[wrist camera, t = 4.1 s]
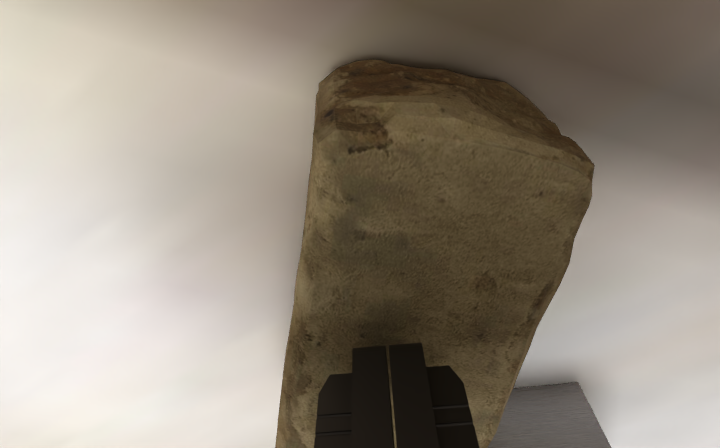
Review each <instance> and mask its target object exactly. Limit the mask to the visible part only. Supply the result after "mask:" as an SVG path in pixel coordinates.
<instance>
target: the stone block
mask: <svg viewBox="0 0 720 448" xmlns="http://www.w3.org/2000/svg"><path fill="white" fill-rule="evenodd" d="M593 171H594V164H593V163H592V162H591V160H590V159H589V158H588V157H587V155H586V154H585V153H584V152H583V150H582V149H581V148H580V147H579V146H578V145H577V144H576V142H574V141H573V140H572V139H570V138H569V137H566V136H562V135H561V134H560V131H559V129H558V127H557V126H556V124H555V123H553V122H551V121H549V120H548V119H547V118H546V116H545V115H544V114H543V113H542V112H541V111H540V110H539V109H538V108H537V107H535V106H534V105H533V103H532V102H531V101H530V100H529V99H527V98H526V97H525V96H523V95H522V94H521V93H520V92H518V91H517V90H516V89H514V88H513V87H511V86H510V85H509V84H507V83H505V82H500V81H495V80H490V79H478V78H473V77H471V76H466V75H462V74H458V73H454V72H452V71H450V70H448V69H423V68H414V67H408V66H404V65H400V64H390V63H388V62H386V61H382V60H372V59H371V60H363V61H355V62H352V63H350V64H347V65H344V66H342V67H339V68H337V69H336V70H335V71H334V72H332V73H331V74H330V75H329V76H327V77H326V78H325V79H324V80H323V81H321V82H320V83H319V91H318V93H317V95H316V108H315V125H314V133H313V149H312V162H311V169H310V176H309V185H308V195H307V205H306V215H305V223H304V231H303V240H302V248H301V254H300V260H299V265H298V270H297V277H296V284H295V294H294V306H293V312H292V318H291V325H290V331H289V337H288V342H287V348H286V355H285V363H284V371H283V380H282V389H281V398H280V407H279V416H278V428H277V437H276V446H275V448H314V441H315V429H316V419H317V406H318V395H319V392H320V390H321V389H322V387H323V385H324V384H325V382H326V380H327V379H328V377H329V375H331V374H344V373H352V350H353V348H360V347H373V346H386V354H387V364H388V375H389V385H390V396H391V407H392V419H393V431H394V444H395V448H397V443H396V430H395V418H394V406H393V393H392V381H391V369H390V356H389V345H396V344H409V343H422V346H423V352H424V358H425V364H426V367H433V366H446V365H449V366H450V367H451V368H452V369H453V371H454V372H455V373H456V374H457V375H458V377H459V378H460V379H461V380H462V381H463V383H464V387H465V391H466V395H467V399H468V403H469V408H470V411H471V415H472V419H473V425H474V427H475V431H476V435H477V439H478V443H479V447H480V448H487V447H488V446H489V444H490V442H491V440H492V439H493V437H494V435H495V434H496V431H497V428H498V426H499V423H500V420H501V417H502V415H503V412H504V409H505V406H506V404H507V401H508V399H509V396H510V394H511V392H512V389H513V387H514V384H515V381H516V379H517V376H518V373H519V371H520V368H521V366H522V364H523V361H524V359H525V357H526V354H527V352H528V350H529V347H530V344H531V342H532V339H533V336H534V334H535V331H536V328H537V326H538V324H539V322H540V320H541V319H542V317H543V315H544V313H545V311H546V309H547V307H548V305H549V303H550V302H551V300H552V298H553V296H554V294H555V292H556V291H557V289H558V287H559V285H560V283H561V281H562V278H563V276H564V274H565V272H566V269H567V267H568V265H569V262H570V257H571V252H572V247H573V242H574V238H575V236H576V233H577V231H578V229H579V226H580V224H581V222H582V219H583V217H584V215H585V213H586V211H587V209H588V207H589V204H590V200H591V196H592V177H593Z"/></svg>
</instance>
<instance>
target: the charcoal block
mask: <svg viewBox="0 0 720 448" xmlns="http://www.w3.org/2000/svg"><path fill="white" fill-rule="evenodd" d="M487 448H611V446H610V444H609V442H608V440H607V438H606V436H605V434H604V432H603V430H602V428H601V426H600V425H599V423H598V421H597V419H596V417H595V415H594V413H593V411H592V409H591V407H590V405H589V403H588V401H587V399H586V397H585V395H584V393H583V391H582V389H581V387H580V385H579V383H578V382H574V383H564V384H553V385H543V386H533V387H523V388H513V389H512V392H511V394H510V396H509V399H508V401H507V404H506V406H505V409H504V412H503V415H502V417H501V420H500V423H499V426H498V428H497V431H496V434H495V435H494V437H493V439H492V440H491V442H490V444H489V446H488V447H487Z"/></svg>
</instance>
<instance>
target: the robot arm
mask: <svg viewBox="0 0 720 448" xmlns="http://www.w3.org/2000/svg"><path fill="white" fill-rule="evenodd" d="M389 356H390V369H391V381H392V393H393V406H394V418H395V430H396V443H397V448H480V447H479V443H478V439H477V435H476V431H475V427H474V425H473V419H472V415H471V411H470V408H469V403H468V399H467V395H466V391H465V387H464V383H463V381H462V380H461V379H460V378H459V377H458V375H457V374H456V373H455V372H454V371H453V369H452V368H451V367H450V366H449V365H446V366H433V367H426V364H425V358H424V352H423V346H422V343H409V344H396V345H389ZM314 448H395V444H394V431H393V419H392V407H391V396H390V385H389V375H388V364H387V354H386V346H373V347H360V348H353V350H352V373H344V374H331V375H329V377H328V379H327V380H326V382H325V384H324V385H323V387H322V389H321V390H320V392H319V395H318V406H317V419H316V429H315V441H314Z"/></svg>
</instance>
